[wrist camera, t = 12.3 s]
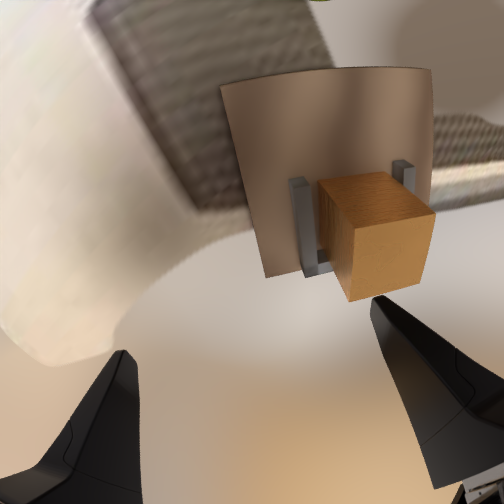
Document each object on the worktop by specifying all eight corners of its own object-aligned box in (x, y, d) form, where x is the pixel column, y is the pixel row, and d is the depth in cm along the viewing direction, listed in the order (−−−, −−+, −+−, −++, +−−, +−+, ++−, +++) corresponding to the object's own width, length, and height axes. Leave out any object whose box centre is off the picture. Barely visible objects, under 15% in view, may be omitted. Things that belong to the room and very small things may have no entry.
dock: (418, 67, 15) (444, 72, 12) (415, 229, 23) (432, 248, 20) (219, 85, 15) (219, 87, 13) (263, 266, 23) (268, 291, 21)
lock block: (384, 171, 18) (436, 213, 13) (380, 231, 21) (419, 283, 16) (317, 180, 18) (354, 228, 13) (319, 243, 21) (349, 302, 16)
